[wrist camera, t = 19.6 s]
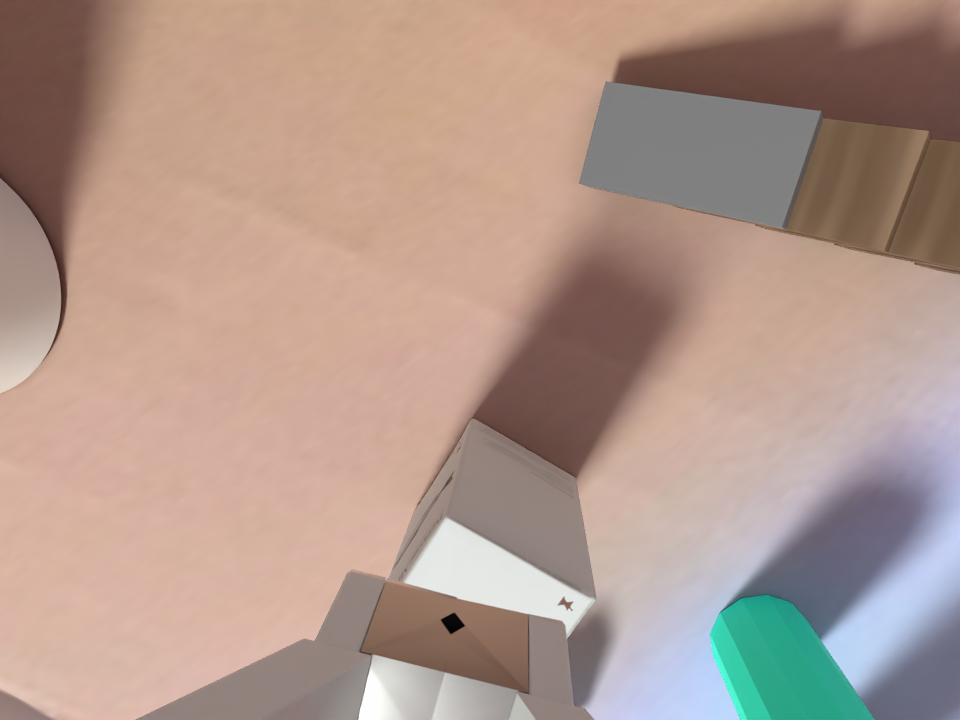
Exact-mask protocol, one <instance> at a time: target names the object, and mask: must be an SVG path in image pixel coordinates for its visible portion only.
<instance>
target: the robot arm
mask: <svg viewBox="0 0 960 720" xmlns="http://www.w3.org/2000/svg"><path fill="white" fill-rule="evenodd" d="M60 311H61V287H60V279H59V273H58V268H57V264H56V261H55V257H54V254H53V251H52V249H51V246H50V244H49V241H48V239H47V237H46V235H45V233H44V231H43V229H42V227H41V226H40V224H39V222H38V221H37V219H36V218H35V216H34V215H33V213H32V212H31V210H30V209H29V208H28V207H27V205H26V204H25V203H24V202H23V200H22V199H21V198H20V197H19V196H18V195H17V194H16V193H15V192H14V191H13V190H12V189H11V188H10V187H9V186H8V185H7V184H6V183H5V182H4V181H3V180H2V179H1V178H0V393H2V392H4V391H7V390H9V389H11V388H13V387H14V386H16V385H18V384H19V383H20V382H22V381H23V380H25V379H26V378H27V377H28V376H29V375H31V374H32V372H33V371H34V370H35V369H36V368H37V367H38V366H39V365H40V363H41V362H42V361H43V359H44V358H45V356H46V355H47V353H48V351H49V349H50V347H51V345H52V343H53V340H54V338H55V335H56V331H57V328H58V324H59V319H60ZM136 720H594V719H593V718H592V716H591V715H590V714H589V713H588V712H587V710H586V709H585V708H581V707H577V706H574V700H573V691H572V681H571V672H570V662H569V653H568V643H567V634H566V625H565V624H564V623H563V621H560V620H555V619H551V618H546V617H541V616H536V615H531V614H525V613H521V612H516V611H512V610H507V609H503V608H498V607H494V606H489V605H484V604H480V603H475V602H471V601H466V600H462V599H457V597H455V596H451V595H447V594H443V593H440V592H436V591H432V590H429V589H425V588H421V587H418V586H414V585H410V584H406V583H403V582H399V581H395V580H392V579H387V580H386V579H385V577H381V576H377V575H373V574H369V573H364V572H360V571H356V570H351V571H350V572H348V573H347V575H346V577H345V579H344V581H343V583H342V585H341V587H340V589H339V591H338V593H337V596H336V598H335V600H334V602H333V604H332V606H331V608H330V610H329V612H328V614H327V616H326V618H325V621H324V623H323V625H322V627H321V629H320V631H319V633H318V635H317V637H316V639H315V641H312V640H308V639H302V640H300V641H298V642H296V643H294V644H292V645H290V646H287V647H285V648H283V649H281V650H279V651H277V652H275V653H273V654H271V655H269V656H267V657H265V658H263V659H261V660H258V661H256V662H254V663H252V664H250V665H248V666H246V667H244V668H242V669H240V670H238V671H236V672H234V673H231V674H229V675H227V676H225V677H223V678H221V679H219V680H217V681H215V682H213V683H211V684H209V685H207V686H205V687H202V688H200V689H198V690H196V691H194V692H192V693H190V694H188V695H186V696H184V697H182V698H180V699H178V700H175V701H173V702H171V703H169V704H167V705H165V706H163V707H161V708H159V709H157V710H155V711H153V712H151V713H149V714H146V715H144V716H142V717H140V718H138V719H136Z"/></svg>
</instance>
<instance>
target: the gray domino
mask: <svg viewBox="0 0 960 720" xmlns="http://www.w3.org/2000/svg"><path fill="white" fill-rule="evenodd" d="M822 122H823V115H822V112H821V111H817V110H810V109H803V108H795V107H788V106H781V105H773V104H766V103H759V102H752V101H744V100H737V99H730V98H723V97H715V96H708V95H701V94H694V93H686V92H679V91H672V90H664V89H657V88H650V87H643V86H635V85H628V84H621V83H614V82H605V86H604V90H603V94H602V97H601V101H600V105H599V109H598V113H597V117H596V120H595V124H594V128H593V132H592V136H591V140H590V143H589V147H588V151H587V155H586V159H585V163H584V166H583V170H582V174H581V178H580V182H579V184H582V185H585V186H588V187H591V188H596V189H600V190H605V191H609V192H614V193H619V194H623V195H628V196H632V197H637V198H642V199H646V200H651V201H655V202H660V203H664V204H669V205H674V206H678V207H683V208H687V209H692V210H697V211H701V212H706V213H710V214H715V215H720V216H724V217H729V218H733V219H738V220H743V221H747V222H752V223H756V224H761V225H766V226H770V227H775V228H779V229H784V230H786V229H787V226H788V223H789V220H790V217H791V214H792V211H793V208H794V205H795V202H796V199H797V196H798V193H799V190H800V187H801V184H802V181H803V178H804V175H805V173H806V170H807V167H808V164H809V161H810V158H811V155H812V152H813V149H814V146H815V143H816V140H817V137H818V134H819V131H820V128H821V125H822Z"/></svg>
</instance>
